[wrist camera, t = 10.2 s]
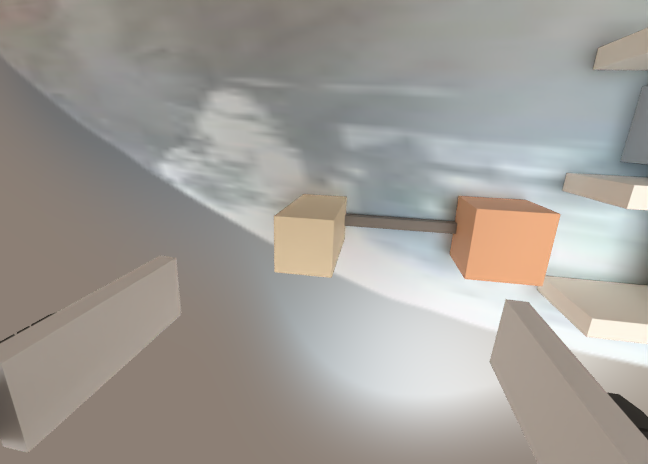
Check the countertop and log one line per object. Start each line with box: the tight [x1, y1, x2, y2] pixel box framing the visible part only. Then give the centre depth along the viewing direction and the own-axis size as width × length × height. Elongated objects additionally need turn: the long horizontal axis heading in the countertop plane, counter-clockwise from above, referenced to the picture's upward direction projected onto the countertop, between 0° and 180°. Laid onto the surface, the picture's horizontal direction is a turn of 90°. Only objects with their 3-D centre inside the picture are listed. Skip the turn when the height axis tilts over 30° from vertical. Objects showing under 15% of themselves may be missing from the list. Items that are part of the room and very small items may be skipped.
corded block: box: [274, 194, 560, 286], centre depth 28 cm, size 6×21×10 cm, turn 88°
